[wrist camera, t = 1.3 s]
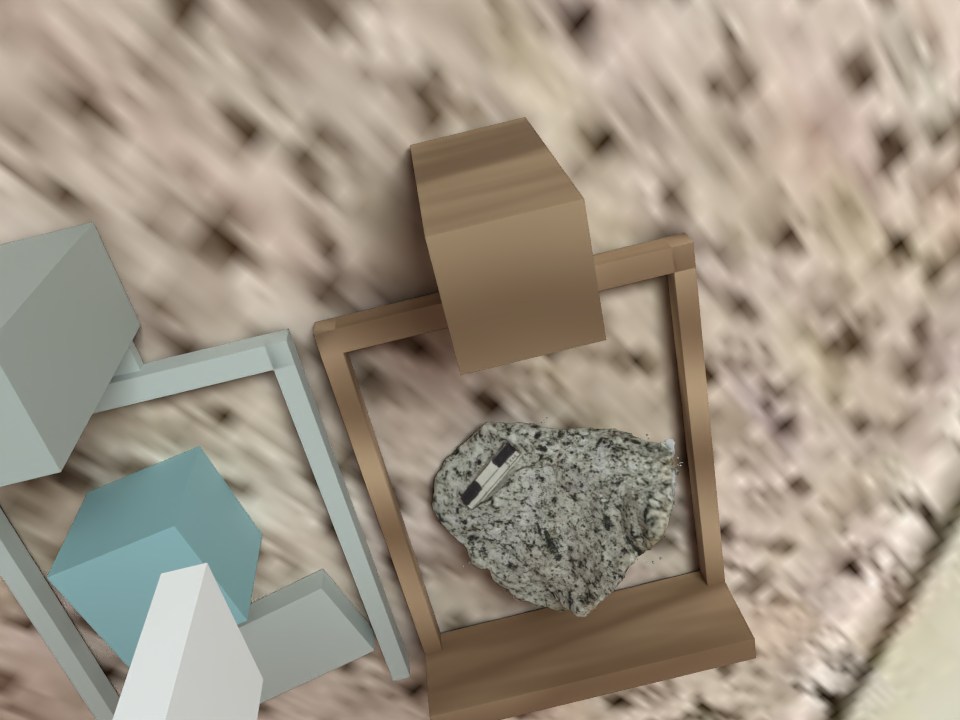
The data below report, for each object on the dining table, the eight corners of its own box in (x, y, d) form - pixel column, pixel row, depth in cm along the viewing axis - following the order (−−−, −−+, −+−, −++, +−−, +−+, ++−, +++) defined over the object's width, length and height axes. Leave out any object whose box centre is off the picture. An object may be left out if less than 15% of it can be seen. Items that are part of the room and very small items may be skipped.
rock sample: (442, 404, 29) (615, 607, 27) (580, 323, 34) (737, 490, 32) (370, 529, 37) (499, 695, 35) (490, 449, 42) (611, 591, 40)
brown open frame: (265, 180, 29) (225, 285, 21) (669, 82, 29) (782, 150, 21) (429, 655, 40) (444, 839, 32) (718, 585, 40) (804, 752, 32)
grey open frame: (-166, 284, 29) (-370, 429, 21) (237, 187, 29) (186, 295, 21) (120, 729, 40) (59, 932, 32) (409, 660, 40) (418, 845, 32)
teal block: (88, 491, 34) (46, 577, 30) (200, 444, 34) (174, 525, 29) (157, 575, 36) (128, 667, 32) (262, 533, 36) (247, 620, 32)
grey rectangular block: (132, 661, 38) (125, 682, 37) (323, 569, 37) (321, 588, 36) (191, 716, 40) (186, 737, 39) (374, 630, 39) (374, 650, 38)
